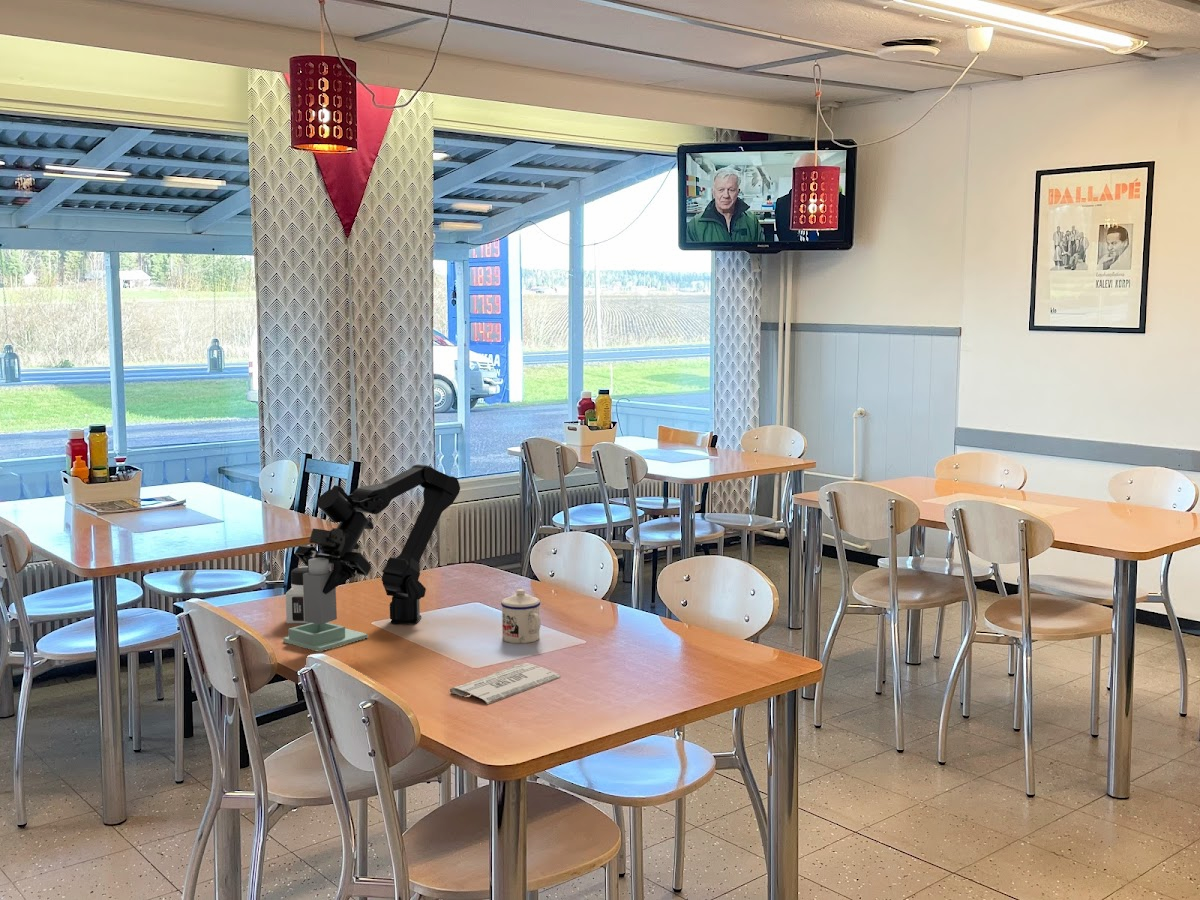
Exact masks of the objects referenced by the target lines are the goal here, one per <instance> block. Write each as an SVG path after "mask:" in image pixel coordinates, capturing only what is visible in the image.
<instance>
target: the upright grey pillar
mask: <svg viewBox="0 0 1200 900" xmlns="http://www.w3.org/2000/svg"><path fill="white" fill-rule="evenodd" d="M308 562H309V572H308V573H304V574H303V591H304V616H305V622H310V623H315V624H321V625H322V624H325V623H327V622H328V623H331V622H333V621H335V620H338V615H337V613H338V612H337V590H336V589H337V587H336V588H334V589H333V590H331V591H330V592H329V593H327V594H324V593H323V589H324V587H325V584H326V582H327V580H328V579H329V577H330V575H331V573H332V571H333V570H330V566H329V565H330V563H329V559H328V558H312V559H309V560H308Z"/></svg>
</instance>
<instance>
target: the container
mask: <svg viewBox="0 0 1200 900" xmlns="http://www.w3.org/2000/svg"><path fill="white" fill-rule="evenodd" d="M307 572H308V566H298V567H295V568H293V569H292V570H291V572H290V582H291V583H290V584H291V585H290V586H291V588H290V589H288V590H287V592H286V593H285V618H286V620H285V621H286V624H308V623H310V622H305V616H304V591H303V574H304V573H307Z"/></svg>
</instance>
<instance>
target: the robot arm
mask: <svg viewBox="0 0 1200 900" xmlns="http://www.w3.org/2000/svg"><path fill="white" fill-rule="evenodd" d="M419 486H420V487H421V488H423V493H422V494H423V505H422V506H421V510H420V512H419V514H418V516H417V518H416V521H415V523H414V525H413V526H412V529H411V531H410V534H409V535H408V538H407V540H406V542H405V543H404V545H403V548H402V550H401V552H400V554H399V555H398V556H396V557H391V556H390V557H389V558H388V559H387V561H386V564H385V567H384V568H383V569H382V576H381V582H382V585H383V588H384V591H385V593H386V595H387V597H388V596H389V597H390V596H391V601H390V603H389V619H390V624H400V625H406V624H407V625H408V624H409V625H417V624H418V623H419V621H420V620H421V619H420V618H422V615H421V614H420V613H421V612H420V608H421V605H420V600H421V598H424V597H425V595H426V591H427V588H426V587H425V586H424V584H422V583H421V582H420V580H419V579H420V575H421V571H420V562H421V558H422V557H423V554H424V552H425V550H426V549H427V546H428V543H429V541H430V539H431V538H432V535H433V532H435V528H436V526H437V524H438V523H439V520H440V518H441V515H442V513H443V512H444V511H445V510H446V509H448V508H449V507H450V506H451V505H452V504H454V502H455V500H456V499H457V498H458V496H459V494H460V491H461V486H460V482H459V479H458V478H457V477H455V476H450V475H448V474H445V473H443V472H441V471H439V470H436V469H435V468H434V467H432V466H430V465H429V464H428V465H427V464H426V465H425V464H418V463H416V464H415V465H412V466H411V467H410V468H408V469H406V470H405V471H403V472H400V473H399V474H396V475H394V476H393V477H390V478H389V479H387V480H385V481H383V482H380V483H378V484H376V483H375V484H370V485H364V486H361V487H357V488H356V489H354V491H353V492H352V493H350V494H347V492H346V491H345V490H344V488H343V487H342V486H341V485H333V486H332V488H331V489H328V490H326V491H325V492H324V493H323V494H321V495H319V498H318V499H317V501H316V502H317V503H316V505H317V507H318V508H319V509H320V510H321V511H322V512H323V513H324V515H326V517H328V519H330V520H331V522H333V523H334V524H336V523H337V524H338V525H337V527H336V528H335V527H333V528H332V529H331V530H328V529H327V530H326V529H321V528H312V530H311V534H310V538H309V540H308V541H309V543H310V544H316V545H319V546H318V548H319V550H320V551H322V552H319V551H318V550H317V548H315V546H312V545H304V544H301V545H298V547H297V548H296V550H295V552H294V555H295V556H296V557H297V558H298V559H299V560H300V561H301V562H302V563H303V564H304V565H305V567H308V572H309V562H308V560H309V559H312V558H328V559H329V564H332V567H333V568H332V570H331V571H332V573H331V575H330V577H329V579H328V580H327V582H326V584H325V587H324V589H323V593H324V594H327V593H329V592H330V591H331V590H333V589H334V588H336V589H337V587H339V586H340V585H341V584H343V583H345V582H346V581H348V580H350V579H352V578H355V577H356V576H357V575H359V576H363V577H364V576H366V577H367V576H368V575H369V573H370V572H371V569H372V567H371V566H372V565H371V563H370V562H369V560H368V559H367V558H366V557H365V556H364V555H363V554H362V552H358V551H357V552H355V551H353V550H358V549H360V545H359V544H358V542H359V540H360V538H361V536H362V534H363V533H364V532H365V530H374V524H373V521H372V517H367V516H366V515H365V514H371V515H377V514H380V513H381V512H383V511H384V510H385V509H386V508H388V507H389V506H390V504H391V502H392V500H394V499H395V498H397V497H399V496H401V495H403V494H405V493H407V492H409V491H410V490H412V489H414V488H416V487H419ZM364 513H365V514H364ZM308 572H307V573H308ZM356 574H357V575H356Z"/></svg>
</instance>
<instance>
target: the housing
mask: <svg viewBox="0 0 1200 900" xmlns="http://www.w3.org/2000/svg"><path fill="white" fill-rule="evenodd" d="M287 630H288V636H285V637H284V636H283V638H282V639H283V643H285V644H286V643H287V644H289V645H292V644H293V645H294V646H295V647H296V646H297V647H301V648H303V649H307V648H308V649H307V650H310V649H312V651H314V650H318V651H316V652H317V653H322V652H324V651H323V650H325V649H329V650H331V649H330V648H332V649H334V648H333V647H336V648H338V647H337V646H339V647H341V646H340V645H343V646H345V645H344V644H346V645H348V644H347V643H350V644H352V643H351V642H353V643H356V642H355V641H357V642H359V641H358V640H360V641H362V640H361V639H363V640H366V639H365V638H367V639H369V638H368V637H369V634H368V633H366V632H362V631H361V632H360V631H356V630H353V629H349V628H346V626H343V625H339V624H335V623H332V622H327V623H325V624H322V625H321V624H315V623H303V624H301V625H297V626H294V627H291V628H288V629H287ZM293 645H292V646H293Z"/></svg>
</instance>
